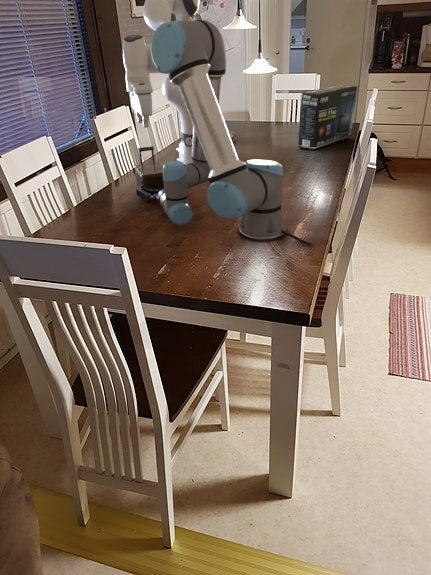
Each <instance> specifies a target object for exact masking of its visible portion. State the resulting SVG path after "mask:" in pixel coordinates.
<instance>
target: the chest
mask: <svg viewBox="0 0 431 575" xmlns="http://www.w3.org/2000/svg"><path fill="white" fill-rule="evenodd" d="M134 172H135V180H136V189H137V188H139V186H140V181H142V182H143V184H144V185H145V187H146V188H149V189H152V190H155V189H157V190H162V189H164V181H163V175H157V176H150V177H143V178H142V176H141V175H140V174H139V172H138V171H137V170H136V169H135V168H134ZM143 201H144V202H145V203H148V202H147V200H145V199H143ZM151 202H156V201H155V200H151Z"/></svg>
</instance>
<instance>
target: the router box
mask: <svg viewBox="0 0 431 575" xmlns="http://www.w3.org/2000/svg"><path fill="white" fill-rule="evenodd" d="M357 93H358V86H356V85H350V84H339V85H338V84H337V85H334V86H328V87H324V88H318V89H314V90H309V91H304V92H301V93H300V109H299V110H300V111H299V124H298V137H297V146H298V145H302V146H307V147H317V146H320V145H323V144H325V143H328V142H331V141H333V140H336V139H338V138H341V137H344V136H347V135H351V136H352V133H353V132H352V131H353V125H354V115H355V109H356V99H357ZM311 151H313V150H312V149H311Z"/></svg>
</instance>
